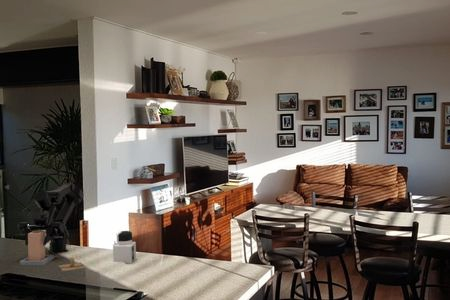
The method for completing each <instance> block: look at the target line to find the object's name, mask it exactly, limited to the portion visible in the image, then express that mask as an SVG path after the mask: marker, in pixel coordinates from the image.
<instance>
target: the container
mask: <svg viewBox="0 0 450 300" xmlns="http://www.w3.org/2000/svg"><path fill="white" fill-rule="evenodd" d="M112 251H113V253H112V254H113V262H114V263H115V262H116V263H117V262H118V263H119V262H120V263H121V262H122V263H124V264H125V265H129V264H130V265H131V264H132V263H133V262H134V261H135V260H137V242H136V241H133V232H132V231H130V230H121V231H118V232H117V233H116V244H114V245H113V248H112Z"/></svg>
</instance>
